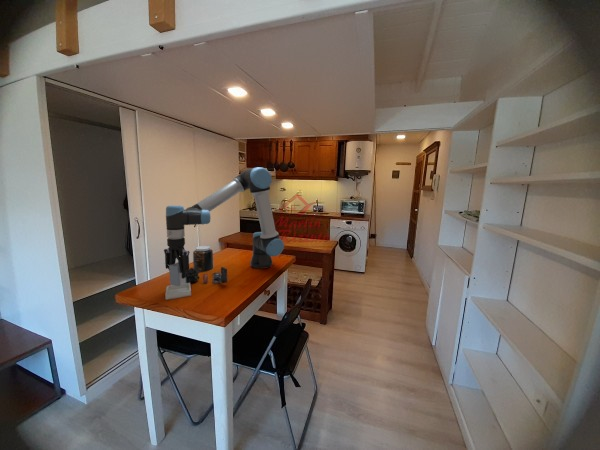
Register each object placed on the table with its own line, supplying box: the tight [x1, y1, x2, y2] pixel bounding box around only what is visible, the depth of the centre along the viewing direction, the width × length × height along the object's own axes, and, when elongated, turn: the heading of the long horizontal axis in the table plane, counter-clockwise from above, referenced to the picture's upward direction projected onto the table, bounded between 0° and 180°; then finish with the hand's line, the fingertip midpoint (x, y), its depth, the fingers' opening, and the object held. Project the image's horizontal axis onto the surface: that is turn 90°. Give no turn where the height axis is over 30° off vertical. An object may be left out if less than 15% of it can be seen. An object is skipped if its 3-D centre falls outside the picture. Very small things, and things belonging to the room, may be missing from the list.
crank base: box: [202, 273, 222, 285], centre depth 125 cm, size 9×5×5 cm, turn 118°
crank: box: [212, 266, 228, 284], centre depth 122 cm, size 12×4×8 cm, turn 48°
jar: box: [192, 245, 214, 273], centre depth 144 cm, size 12×12×15 cm
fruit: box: [186, 267, 200, 283], centre depth 125 cm, size 9×8×15 cm
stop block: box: [168, 261, 187, 286], centre depth 110 cm, size 5×5×10 cm
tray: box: [164, 282, 192, 301], centre depth 112 cm, size 11×11×2 cm
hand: (178, 283), depth 111 cm, fingers closed on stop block, 5 cm apart
